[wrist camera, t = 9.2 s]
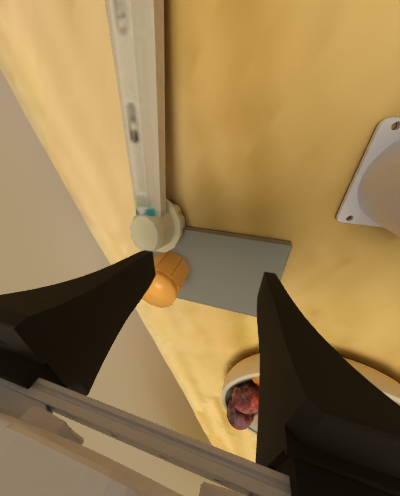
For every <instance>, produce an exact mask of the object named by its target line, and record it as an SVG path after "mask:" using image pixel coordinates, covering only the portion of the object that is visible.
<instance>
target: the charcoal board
mask: <svg viewBox="0 0 400 496" xmlns="http://www.w3.org/2000/svg"><path fill="white" fill-rule="evenodd" d="M291 248H292V244H291V242H290V241H283V240H276V239H269V238H262V237H256V236H249V235H242V234H235V233H228V232H222V231H215V230H208V229H201V228H194V227H187V226H185V227H184V228H183V229H182V236H181V238H180V240H179V242H178V244H177V246H176V247H174V248H173V249H171V250H169V251H172V252H174V253H176V254H178V255H180V256H182V258H184V259H185V261H186V263H187V265H188V266H189V268H190V271H189V273H188V276H187V278H186V280H185V282H184V284H183V286H182V288H181V290H180V292H179V294H178V296H177V297H176V298H179V299H184V300H188V301H192V302H196V303H200V304H204V305H209V306H213V307H217V308H221V309H225V310H229V311H234V312H238V313H242V314H246V315H250V316H254V317H257V296H258V292H259V289H260V285H261V281H262V278H263V274H264V272H270V273H275V274H276V275H277V277H278V279H279V280H280V279H281V277H282V274H283V271H284V268H285V265H286V262H287V260H288V257H289V254H290V251H291ZM159 253H162V252H158V251H154V252H153V257H155V256H156V255H157V254H159Z"/></svg>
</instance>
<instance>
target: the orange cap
mask: <svg viewBox="0 0 400 496" xmlns="http://www.w3.org/2000/svg"><path fill="white" fill-rule="evenodd" d="M154 265H155V273H156V276H155V278H154V280H153V282H152V284H151V285H150V287H149V289H148V290H147V292H146V293H145V294H144V296H143V297H142V299H143V300H145V301H146V302H147V303H149V304H151V305H153V306H156V307H168V306H170V305H172V304H173V302H174V300H175V299H176V297H177V296H178V294H179V292H180V290H181V288H182V286H183V284H184V282H185V280H186V278H187V276H188V273H189V271H190V268H189V266H188V265H187V263H186V261H185V259H184V258H182V256H180V255H178V254H176V253H174V252H172V251H167V252H165V253H164V252H162V253H159V254H157V255H156V256H155V257H154Z"/></svg>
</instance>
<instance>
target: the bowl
mask: <svg viewBox="0 0 400 496" xmlns="http://www.w3.org/2000/svg"><path fill="white" fill-rule="evenodd" d="M343 358H344V357H343ZM344 359H345V360H346V361H347V362H348V363H349V364H351V365H352V366H353V367H354V368H355V369H356V370H357V371H358V372H360V373H361V374H362V375H363V376H364V377H365V378H366V379H368V380H369V381H370V382H371V383H372V384H373V385H375V386H376V387H377V388H378V389H380V390H381V391H382V392H383V393H385V394H386V395H387V396H388V397H389V398H391V399H392V400H393V401H394V402H396V403H397V404H398V405H399V406H400V384H399V383H398V382H396V381H395V380H393V379H392V378H390V377H388V376H387V375H385V374H383V373H381V372H379V371H377V370H375V369H373V368H371V367H369V366H366V365H364V364H361V363H359V362H356V361H353V360H350V359H347V358H344ZM259 375H260V353H258V354H255V355H252V356H249V357H247V358H245V359H243V360H242V361H240V362H239V363H237V364H236V365H235V366H234V367H233V368H232V369H231V370H230V372H229V373H228V375H227V376H226V379H225V381H224V384H223V389H222V402H223V405H224V407H225V409H226V410H227V418H228V421H229V422H230V424H231V425H232V426H233V427H234V428H235V429H238V430H244V429H247V430H249V431H251V432H252V433H254V434H256V435H257V429H258V406H259Z"/></svg>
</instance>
